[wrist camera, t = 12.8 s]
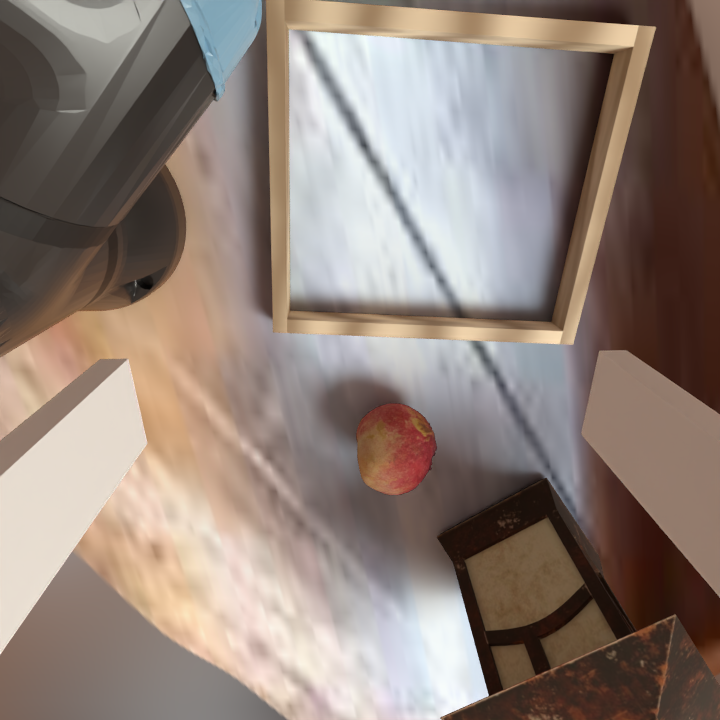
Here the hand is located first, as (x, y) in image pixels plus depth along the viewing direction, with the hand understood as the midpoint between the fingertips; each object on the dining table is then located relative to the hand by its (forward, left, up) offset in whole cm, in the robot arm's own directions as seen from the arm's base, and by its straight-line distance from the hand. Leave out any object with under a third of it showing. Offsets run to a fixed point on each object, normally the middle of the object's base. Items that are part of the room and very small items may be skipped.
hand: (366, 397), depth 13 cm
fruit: (+5, -18, -29) cm, 34 cm away
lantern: (+24, -31, -29) cm, 49 cm away
